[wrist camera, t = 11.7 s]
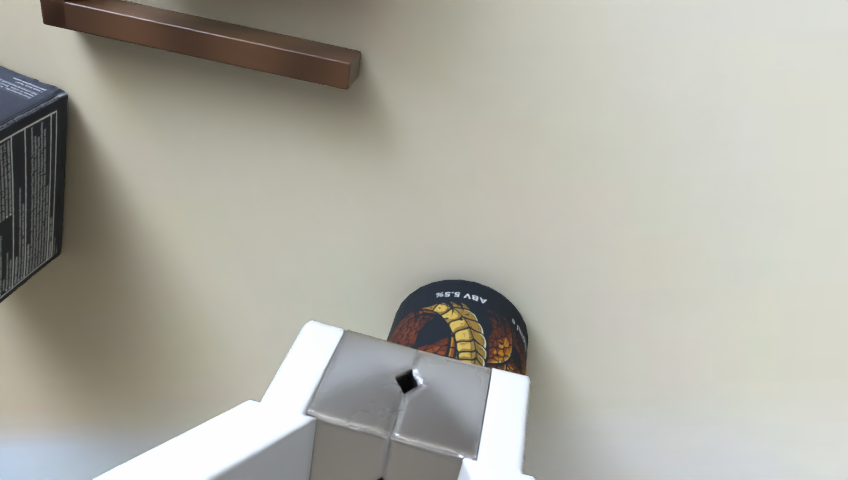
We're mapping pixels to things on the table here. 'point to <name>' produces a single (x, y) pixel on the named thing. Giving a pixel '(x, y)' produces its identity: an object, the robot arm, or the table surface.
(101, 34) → the bay
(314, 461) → the robot arm
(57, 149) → the small box
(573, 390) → the table surface
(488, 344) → the beverage can
